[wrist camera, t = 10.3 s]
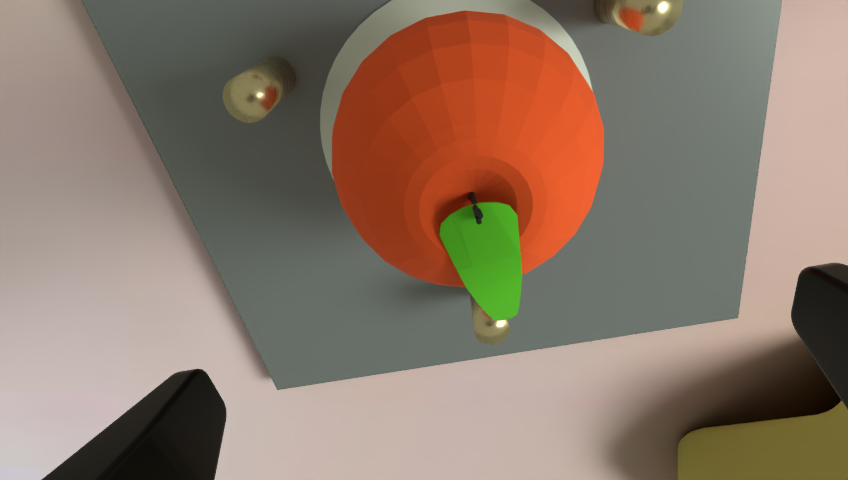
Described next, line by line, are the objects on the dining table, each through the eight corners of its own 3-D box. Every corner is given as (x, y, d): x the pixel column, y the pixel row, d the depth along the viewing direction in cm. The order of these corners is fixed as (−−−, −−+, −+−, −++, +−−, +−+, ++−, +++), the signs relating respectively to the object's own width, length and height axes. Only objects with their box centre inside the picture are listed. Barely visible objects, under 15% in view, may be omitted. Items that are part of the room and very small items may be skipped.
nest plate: (812, -387, 11) (842, -414, 10) (727, 305, 21) (739, 319, 20) (22, -156, 13) (-4, -163, 12) (281, 377, 23) (276, 391, 22)
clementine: (583, 210, 17) (671, 345, 11) (400, 258, 18) (387, 408, 12) (543, -35, 14) (642, -34, 7) (315, 43, 15) (236, 102, 8)
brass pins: (635, -27, 14) (684, -26, 11) (633, 267, 19) (668, 316, 16) (251, 61, 15) (214, 81, 12) (345, 316, 20) (333, 370, 17)
